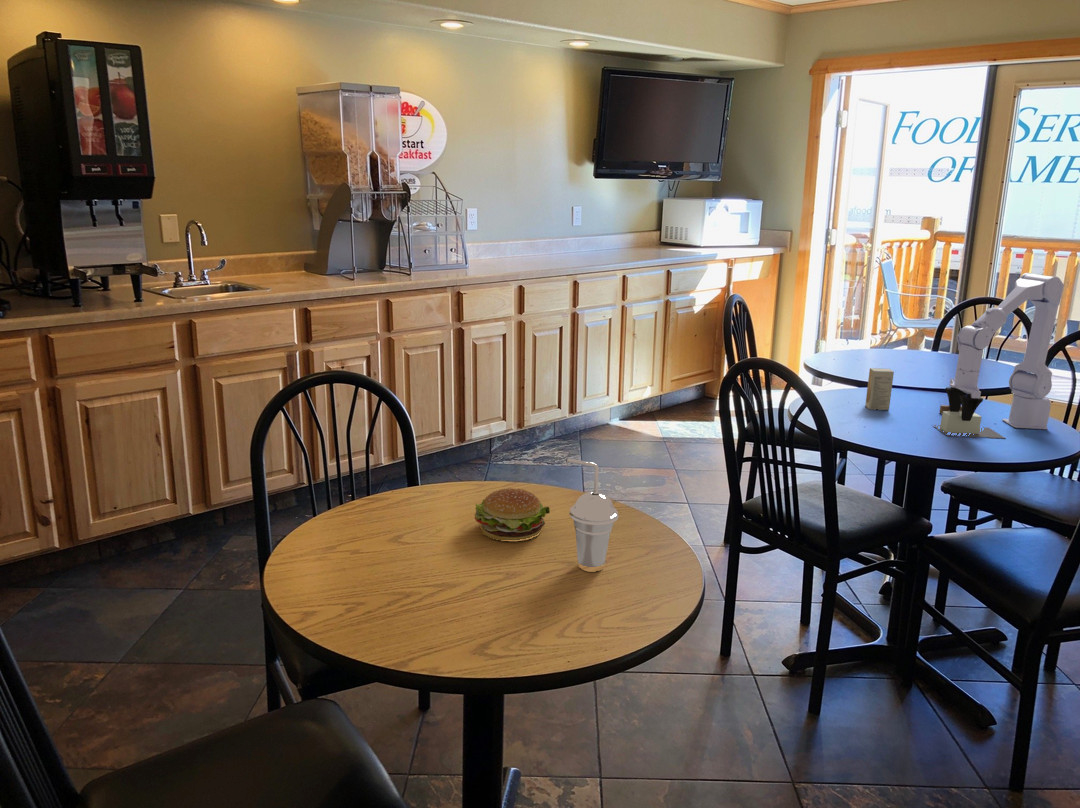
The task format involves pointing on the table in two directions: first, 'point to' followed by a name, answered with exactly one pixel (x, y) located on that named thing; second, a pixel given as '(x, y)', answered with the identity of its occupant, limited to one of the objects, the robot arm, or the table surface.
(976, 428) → the block
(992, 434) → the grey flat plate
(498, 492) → the food
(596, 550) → the cup with straw
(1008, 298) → the robot arm
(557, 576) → the table surface
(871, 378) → the skincare box
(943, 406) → the frame
